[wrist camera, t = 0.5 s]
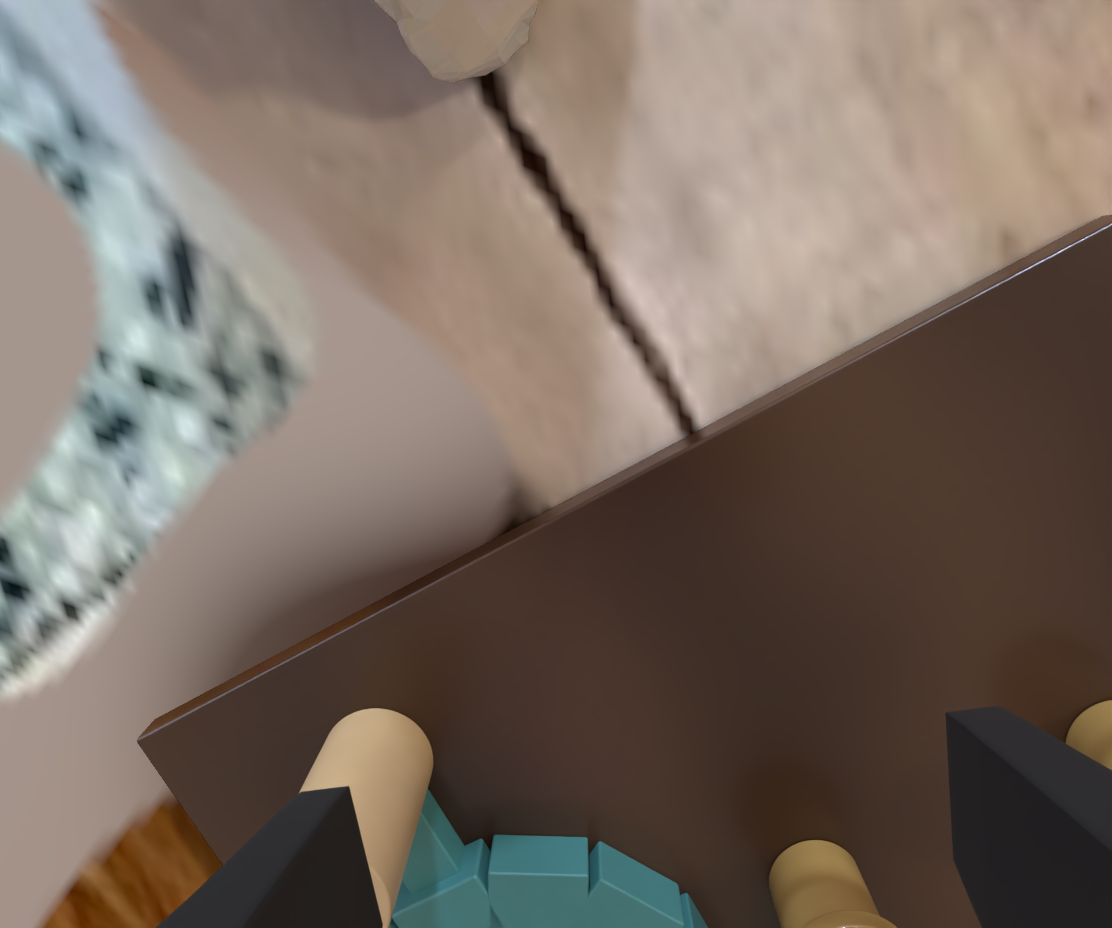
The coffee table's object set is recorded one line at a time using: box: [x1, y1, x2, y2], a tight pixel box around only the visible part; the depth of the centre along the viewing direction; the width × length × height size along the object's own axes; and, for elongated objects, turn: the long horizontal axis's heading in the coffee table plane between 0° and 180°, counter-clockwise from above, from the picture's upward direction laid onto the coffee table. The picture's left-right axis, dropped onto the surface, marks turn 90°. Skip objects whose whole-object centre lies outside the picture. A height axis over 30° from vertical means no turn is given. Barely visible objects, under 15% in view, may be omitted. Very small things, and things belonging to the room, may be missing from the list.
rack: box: [137, 215, 1112, 928], centre depth 20 cm, size 23×15×4 cm, turn 119°
